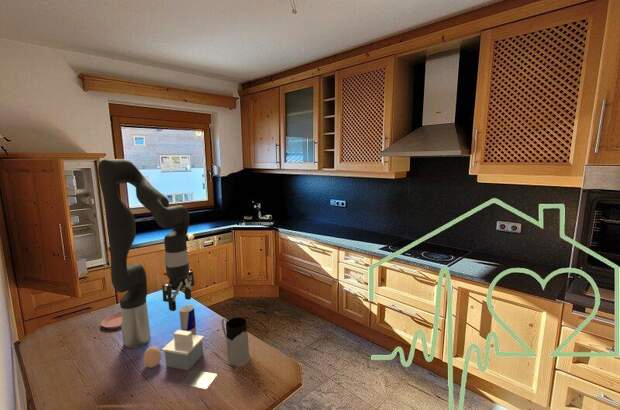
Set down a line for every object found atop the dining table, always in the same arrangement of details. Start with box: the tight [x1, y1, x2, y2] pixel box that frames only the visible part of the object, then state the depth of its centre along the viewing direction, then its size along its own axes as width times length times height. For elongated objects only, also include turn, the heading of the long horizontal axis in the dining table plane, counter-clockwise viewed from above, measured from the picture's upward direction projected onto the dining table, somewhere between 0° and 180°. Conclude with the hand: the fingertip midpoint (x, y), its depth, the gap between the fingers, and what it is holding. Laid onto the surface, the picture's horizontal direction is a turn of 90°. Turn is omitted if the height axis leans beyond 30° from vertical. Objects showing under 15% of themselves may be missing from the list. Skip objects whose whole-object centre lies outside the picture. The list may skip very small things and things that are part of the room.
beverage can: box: [179, 304, 198, 335], centre depth 125 cm, size 6×6×15 cm
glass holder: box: [221, 316, 251, 368], centre depth 116 cm, size 9×14×15 cm, turn 48°
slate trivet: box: [179, 369, 219, 390], centre depth 105 cm, size 10×7×1 cm
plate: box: [100, 311, 122, 330], centre depth 143 cm, size 14×14×2 cm
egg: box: [142, 346, 162, 369], centre depth 112 cm, size 6×6×8 cm
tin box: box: [164, 340, 204, 371], centre depth 114 cm, size 9×9×7 cm
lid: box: [161, 329, 205, 355], centre depth 113 cm, size 10×10×5 cm
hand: (180, 304), depth 111 cm, fingers open, 8 cm apart
